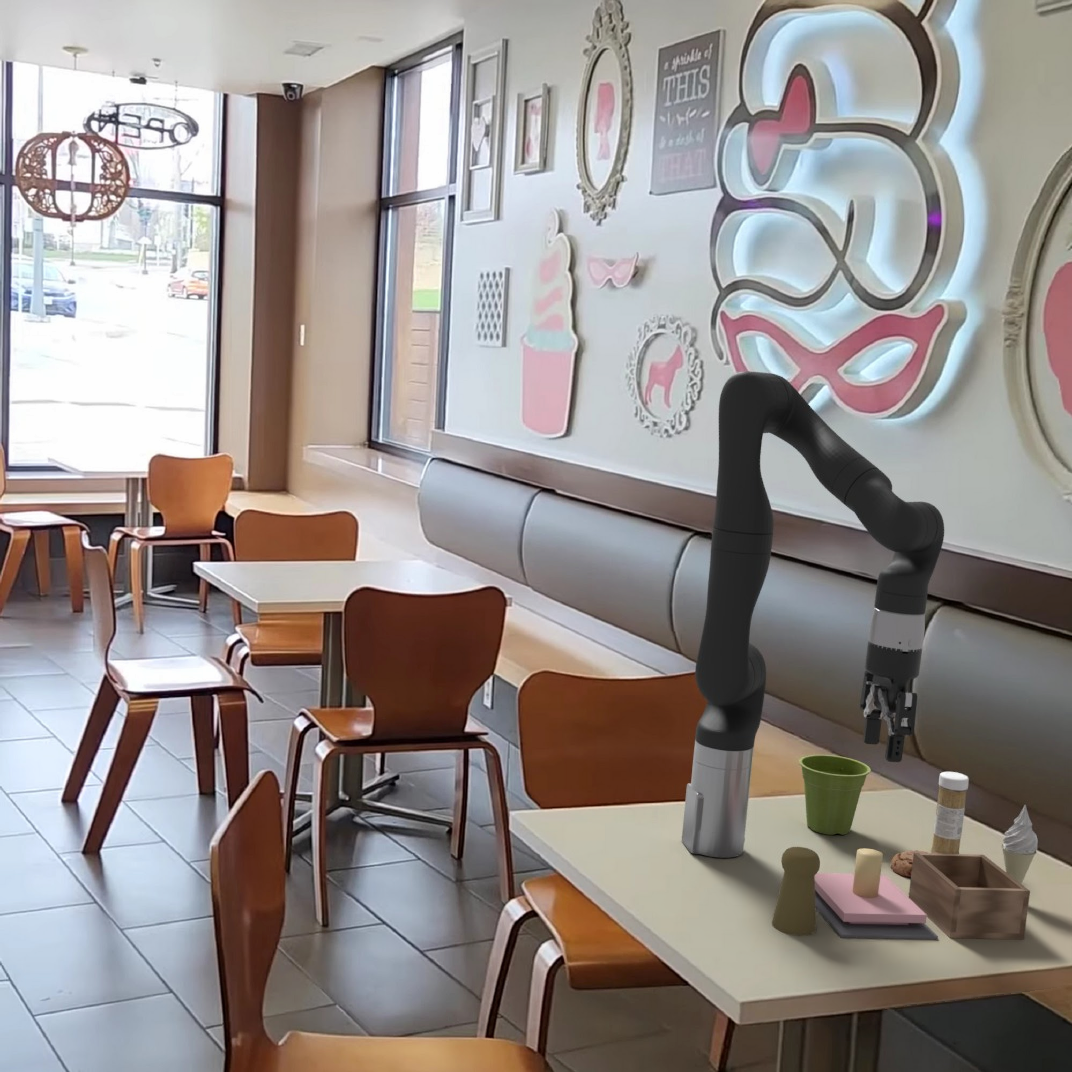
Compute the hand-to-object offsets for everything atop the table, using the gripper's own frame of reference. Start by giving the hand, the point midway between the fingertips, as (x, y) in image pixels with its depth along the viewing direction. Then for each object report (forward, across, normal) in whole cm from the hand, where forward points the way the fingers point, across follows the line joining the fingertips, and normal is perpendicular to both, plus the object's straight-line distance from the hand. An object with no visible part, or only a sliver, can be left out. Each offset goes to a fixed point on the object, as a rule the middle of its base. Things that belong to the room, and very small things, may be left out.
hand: (881, 752), depth 198 cm
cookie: (+23, -14, +16) cm, 31 cm away
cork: (+23, +8, -13) cm, 28 cm away
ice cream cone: (+23, -3, +25) cm, 34 cm away
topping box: (+23, +4, +14) cm, 27 cm away
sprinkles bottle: (+23, -22, +22) cm, 39 cm away
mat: (+23, +2, -1) cm, 23 cm away
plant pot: (+23, -33, +6) cm, 41 cm away
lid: (+22, +2, -1) cm, 23 cm away
